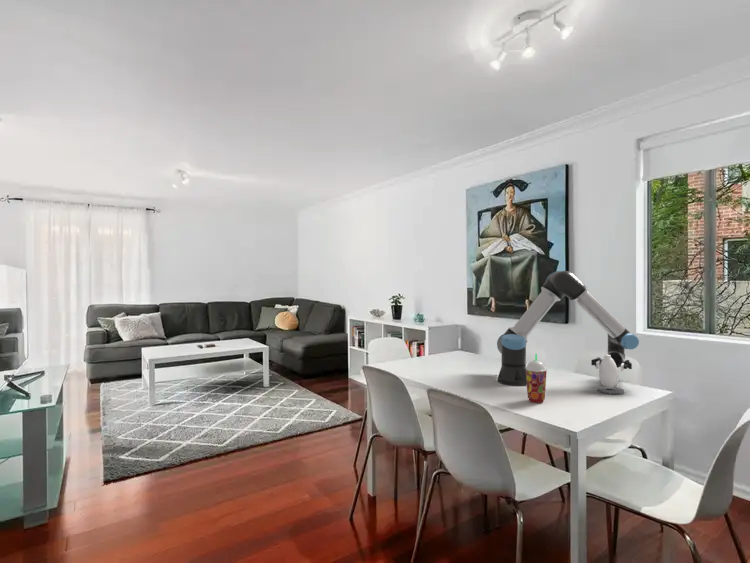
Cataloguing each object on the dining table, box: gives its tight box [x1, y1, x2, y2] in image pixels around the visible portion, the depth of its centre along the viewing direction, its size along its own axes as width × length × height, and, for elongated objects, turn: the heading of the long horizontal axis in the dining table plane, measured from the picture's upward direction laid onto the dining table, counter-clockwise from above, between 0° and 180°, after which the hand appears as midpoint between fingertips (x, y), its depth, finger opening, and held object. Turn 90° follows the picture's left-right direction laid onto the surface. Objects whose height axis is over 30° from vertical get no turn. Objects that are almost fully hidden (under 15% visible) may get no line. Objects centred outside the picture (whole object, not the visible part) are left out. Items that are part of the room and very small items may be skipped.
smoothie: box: [526, 353, 547, 404], centre depth 180 cm, size 8×8×20 cm
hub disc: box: [596, 385, 625, 396], centre depth 197 cm, size 11×11×1 cm
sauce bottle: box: [598, 349, 620, 389], centre depth 197 cm, size 8×8×18 cm
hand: (609, 367), depth 193 cm, fingers open, 9 cm apart
